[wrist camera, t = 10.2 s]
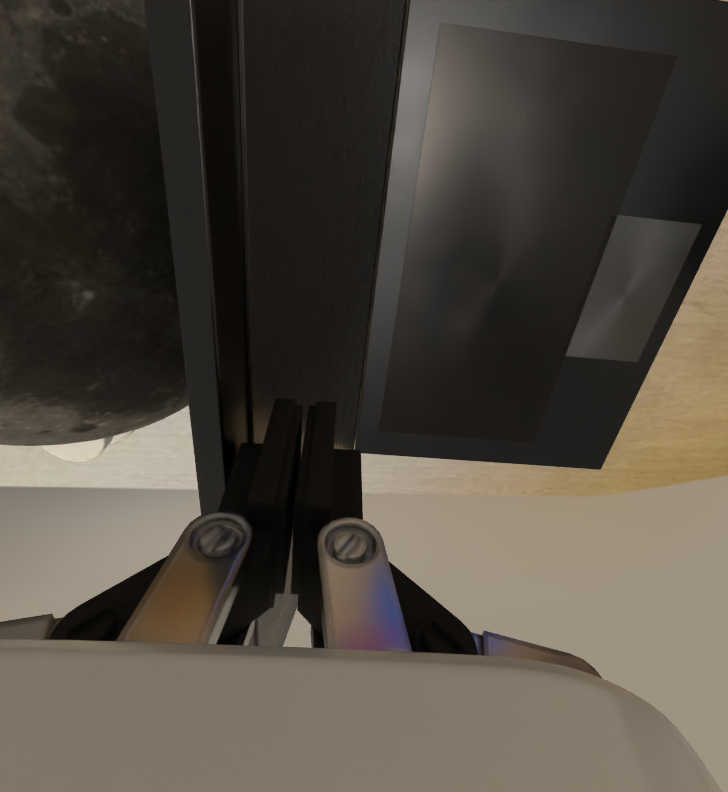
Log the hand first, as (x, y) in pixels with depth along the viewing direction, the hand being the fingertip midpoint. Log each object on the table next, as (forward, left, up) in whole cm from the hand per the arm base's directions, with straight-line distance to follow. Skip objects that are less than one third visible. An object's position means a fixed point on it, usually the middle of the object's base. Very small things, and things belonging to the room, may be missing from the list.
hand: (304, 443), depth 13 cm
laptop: (0, +14, -21) cm, 25 cm away
